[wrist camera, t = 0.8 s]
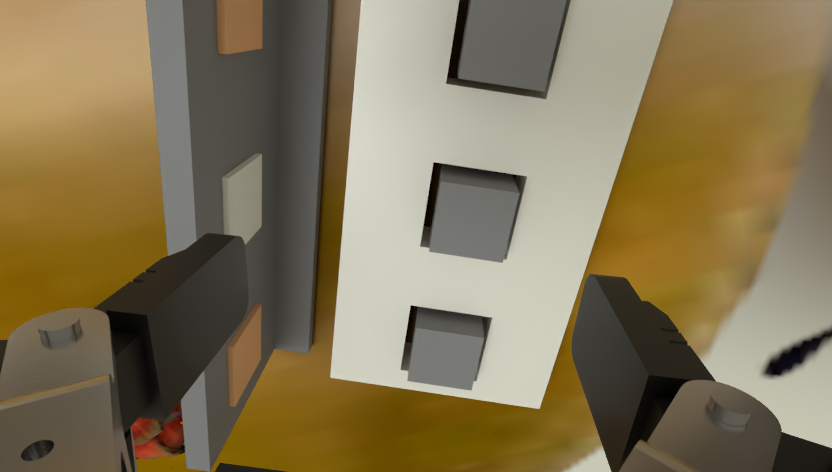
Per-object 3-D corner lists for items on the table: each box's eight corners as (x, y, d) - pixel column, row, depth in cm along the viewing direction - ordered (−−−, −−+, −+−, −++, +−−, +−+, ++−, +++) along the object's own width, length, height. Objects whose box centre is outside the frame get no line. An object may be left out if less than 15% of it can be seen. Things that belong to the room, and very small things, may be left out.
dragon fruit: (103, 280, 35) (221, 375, 41) (-4, 369, 33) (137, 458, 38) (97, 313, 28) (242, 423, 33) (-40, 430, 26) (140, 529, 31)
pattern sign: (216, -99, 24) (46, -185, 14) (337, -81, 24) (256, -152, 14) (229, 332, 34) (140, 461, 24) (311, 344, 34) (256, 478, 24)
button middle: (441, 164, 27) (441, 181, 24) (512, 175, 27) (519, 193, 24) (430, 229, 29) (429, 251, 26) (497, 239, 29) (502, 262, 26)
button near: (471, -15, 23) (475, -20, 20) (553, -3, 23) (568, -5, 20) (457, 71, 25) (458, 78, 22) (533, 83, 25) (544, 91, 22)
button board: (377, -74, 24) (368, -86, 21) (658, -31, 24) (685, -37, 21) (339, 348, 34) (330, 377, 32) (532, 377, 35) (539, 408, 32)
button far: (418, 300, 31) (416, 327, 28) (481, 309, 31) (484, 338, 28) (410, 350, 32) (407, 381, 30) (469, 359, 32) (471, 390, 30)
